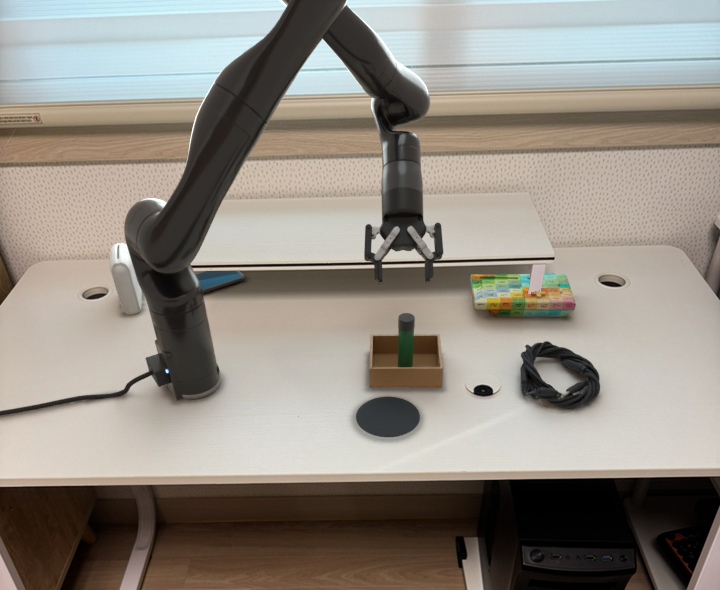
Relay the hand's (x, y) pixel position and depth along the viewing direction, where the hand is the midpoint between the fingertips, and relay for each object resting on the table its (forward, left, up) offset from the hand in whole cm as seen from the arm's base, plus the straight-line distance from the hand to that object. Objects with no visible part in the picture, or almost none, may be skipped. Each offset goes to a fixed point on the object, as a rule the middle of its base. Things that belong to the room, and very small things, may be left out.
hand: (404, 282), depth 126 cm
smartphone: (-23, +44, -13) cm, 51 cm away
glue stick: (-4, -7, -13) cm, 16 cm away
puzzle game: (+29, 0, -14) cm, 32 cm away
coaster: (-14, -17, -13) cm, 26 cm away
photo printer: (-40, +45, -14) cm, 62 cm away
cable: (+18, -24, -14) cm, 33 cm away
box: (-4, -7, -13) cm, 16 cm away
